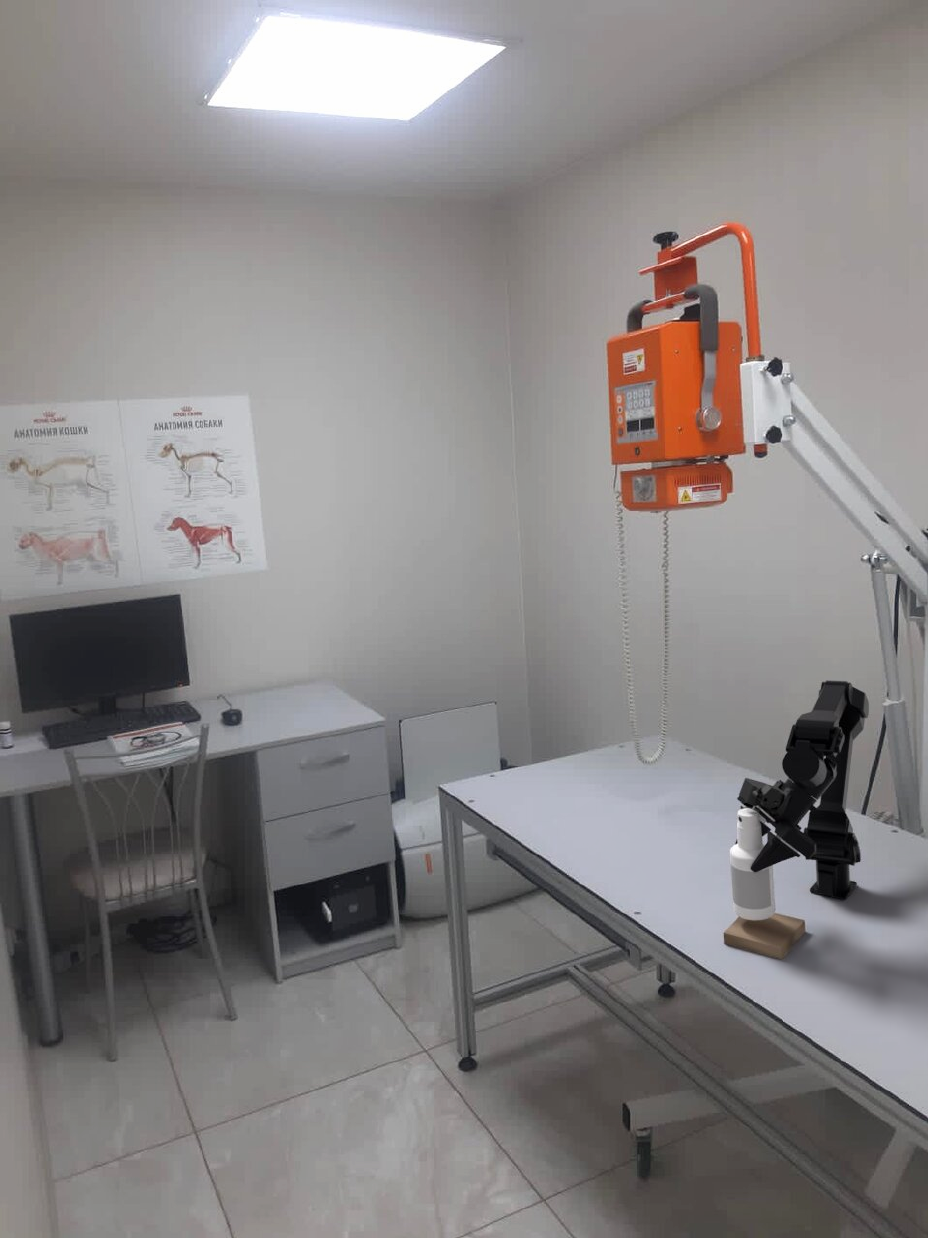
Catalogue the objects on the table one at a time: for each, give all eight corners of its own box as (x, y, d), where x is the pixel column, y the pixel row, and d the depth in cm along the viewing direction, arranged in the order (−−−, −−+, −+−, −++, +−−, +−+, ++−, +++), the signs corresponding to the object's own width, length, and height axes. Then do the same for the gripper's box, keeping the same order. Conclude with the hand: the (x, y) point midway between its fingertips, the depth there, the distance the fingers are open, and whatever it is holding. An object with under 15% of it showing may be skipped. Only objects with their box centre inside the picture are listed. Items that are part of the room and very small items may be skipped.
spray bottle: (725, 908, 168) (718, 810, 165) (758, 897, 170) (752, 800, 167) (750, 925, 162) (743, 824, 158) (784, 914, 164) (778, 814, 161)
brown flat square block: (749, 916, 173) (748, 906, 172) (805, 931, 166) (804, 920, 166) (724, 943, 165) (723, 933, 165) (781, 959, 159) (781, 948, 158)
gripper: (744, 745, 171) (688, 814, 172) (794, 782, 152) (731, 859, 153) (789, 780, 173) (734, 848, 174) (843, 820, 155) (781, 896, 156)
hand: (743, 861), depth 164 cm, fingers closed on spray bottle, 7 cm apart
